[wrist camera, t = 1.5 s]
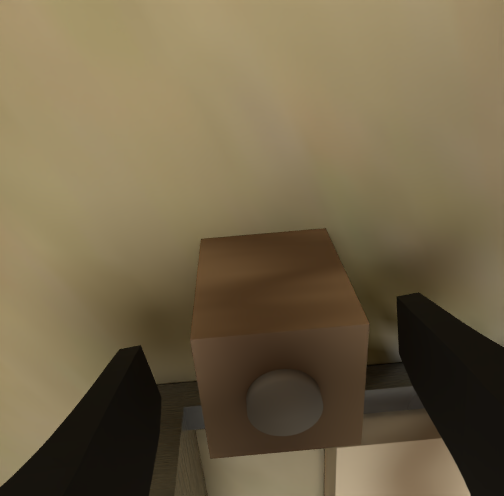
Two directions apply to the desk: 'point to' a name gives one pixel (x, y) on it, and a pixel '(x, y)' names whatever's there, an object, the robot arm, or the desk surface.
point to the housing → (278, 344)
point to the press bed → (394, 460)
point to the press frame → (191, 418)
